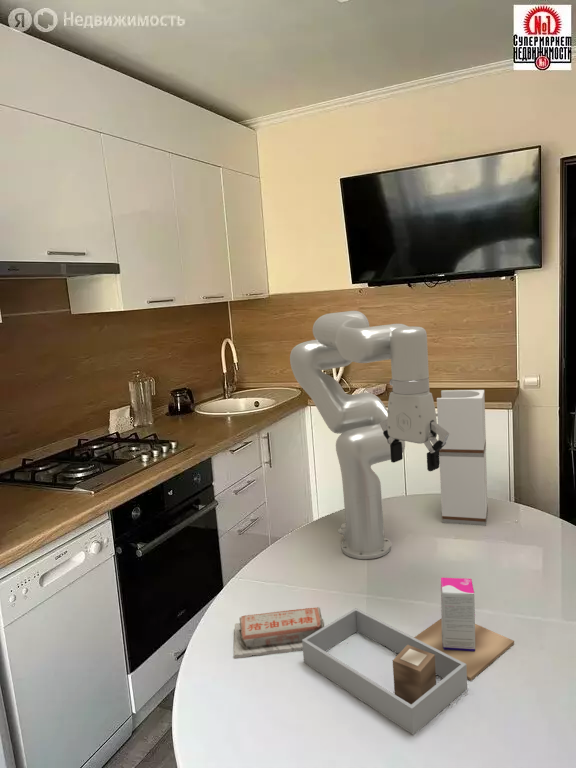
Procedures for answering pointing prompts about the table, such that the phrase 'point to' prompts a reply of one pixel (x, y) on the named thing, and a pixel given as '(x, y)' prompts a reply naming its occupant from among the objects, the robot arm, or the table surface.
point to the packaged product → (275, 631)
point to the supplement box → (458, 614)
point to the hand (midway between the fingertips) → (414, 465)
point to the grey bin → (373, 693)
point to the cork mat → (476, 661)
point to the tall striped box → (463, 457)
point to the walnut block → (413, 673)
